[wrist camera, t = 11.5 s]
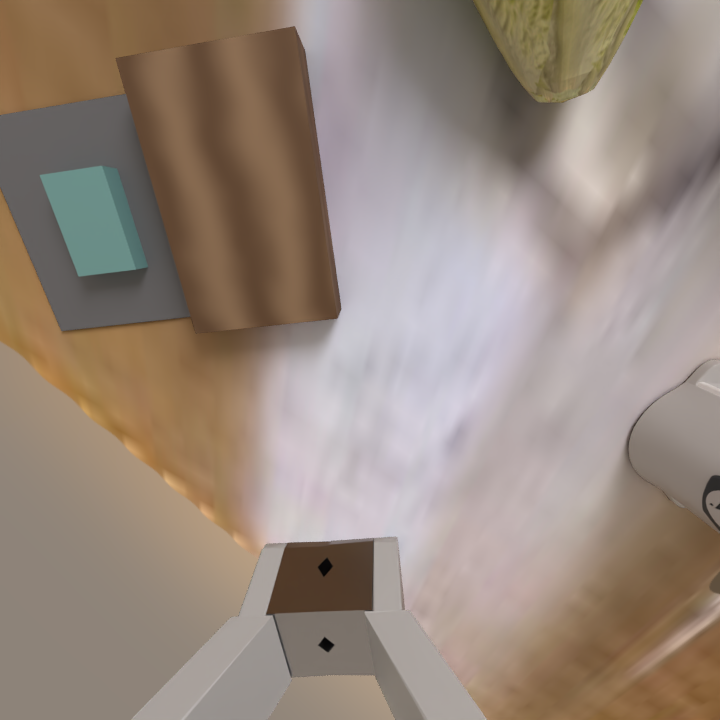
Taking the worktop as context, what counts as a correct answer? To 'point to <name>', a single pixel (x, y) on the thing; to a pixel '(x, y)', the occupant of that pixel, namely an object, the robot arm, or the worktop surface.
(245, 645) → the robot arm
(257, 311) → the board
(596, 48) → the lettuce
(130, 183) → the grey mat
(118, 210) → the teal block
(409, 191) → the worktop surface
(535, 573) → the worktop surface
